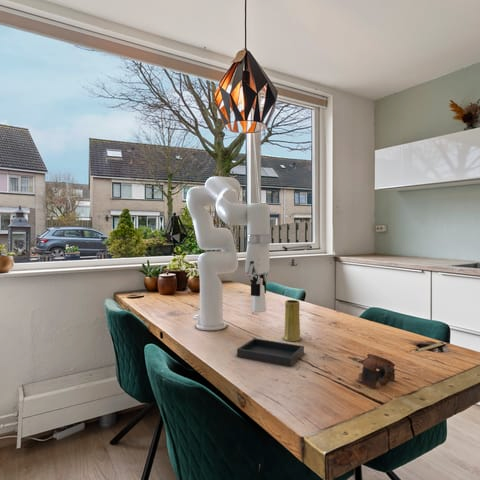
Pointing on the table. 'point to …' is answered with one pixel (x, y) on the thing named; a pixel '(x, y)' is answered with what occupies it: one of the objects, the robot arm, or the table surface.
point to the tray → (271, 352)
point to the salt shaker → (259, 300)
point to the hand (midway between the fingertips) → (258, 293)
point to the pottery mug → (373, 376)
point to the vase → (292, 321)
